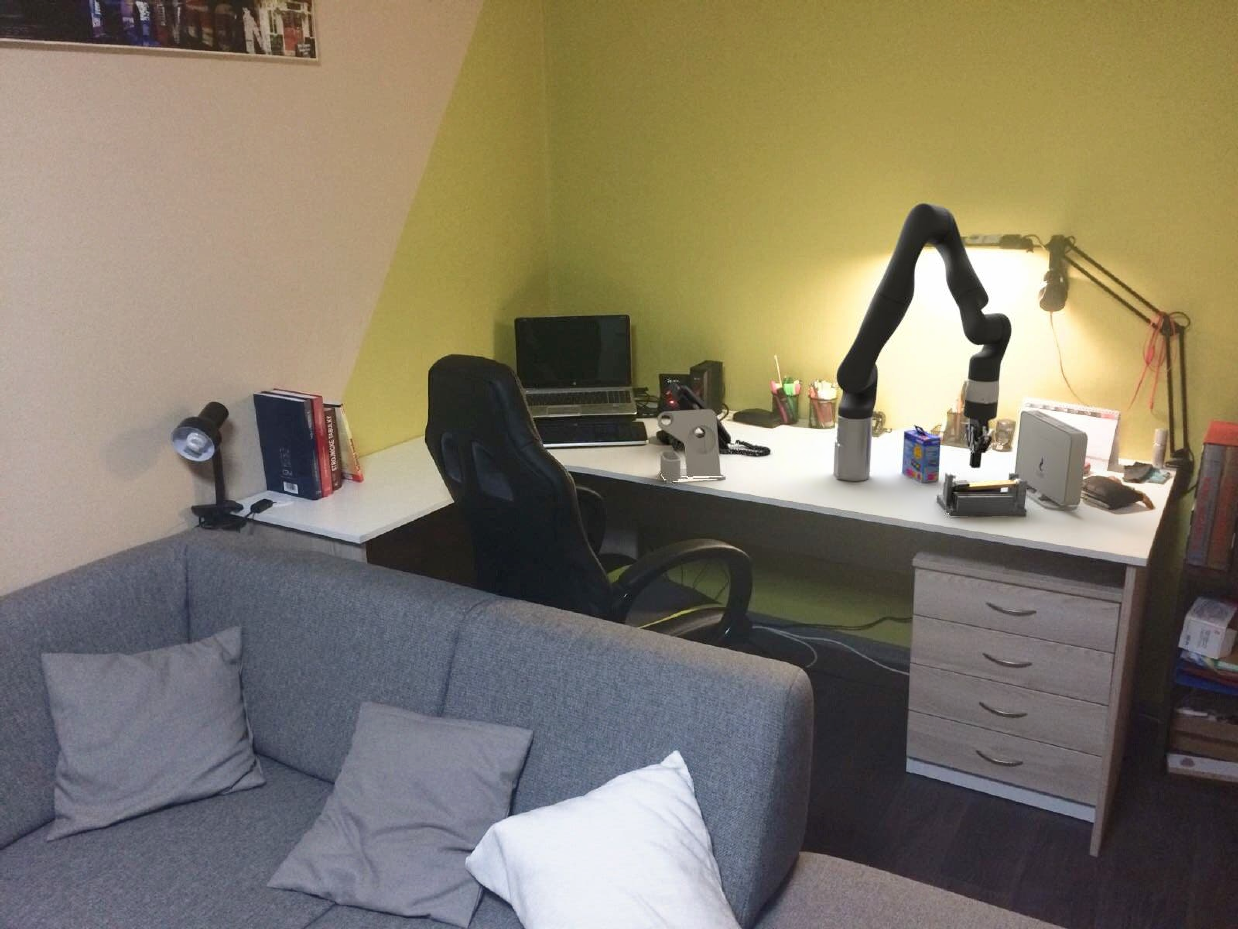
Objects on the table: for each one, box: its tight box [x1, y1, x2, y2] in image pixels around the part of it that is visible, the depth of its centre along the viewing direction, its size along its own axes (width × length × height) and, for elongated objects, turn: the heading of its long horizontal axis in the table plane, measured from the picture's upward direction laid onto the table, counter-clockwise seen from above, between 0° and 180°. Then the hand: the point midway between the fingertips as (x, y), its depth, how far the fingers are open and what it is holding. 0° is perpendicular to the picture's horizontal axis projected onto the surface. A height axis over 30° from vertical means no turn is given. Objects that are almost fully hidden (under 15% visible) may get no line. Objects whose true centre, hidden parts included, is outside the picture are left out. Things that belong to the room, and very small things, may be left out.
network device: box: [1014, 409, 1089, 511], centre depth 244 cm, size 26×9×20 cm, turn 5°
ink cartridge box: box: [901, 424, 942, 483], centre depth 263 cm, size 10×6×14 cm, turn 19°
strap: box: [953, 477, 1020, 491], centre depth 238 cm, size 16×4×2 cm, turn 88°
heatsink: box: [936, 471, 1028, 518], centre depth 238 cm, size 18×12×9 cm, turn 88°
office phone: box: [667, 380, 771, 457], centre depth 297 cm, size 29×28×20 cm
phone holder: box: [657, 408, 727, 484], centre depth 267 cm, size 17×10×18 cm, turn 98°
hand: (974, 467), depth 236 cm, fingers closed
